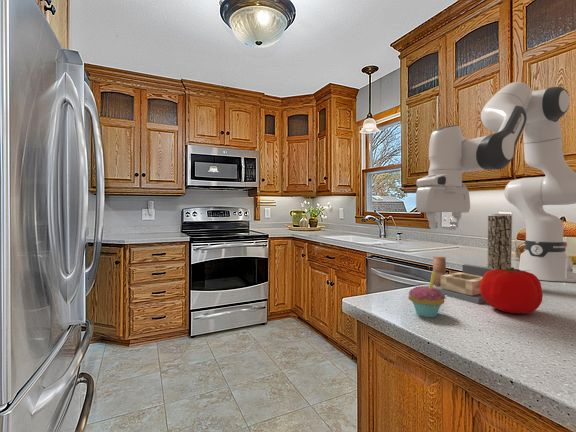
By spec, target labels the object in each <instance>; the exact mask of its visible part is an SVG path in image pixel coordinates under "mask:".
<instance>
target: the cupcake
mask: <svg viewBox="0 0 576 432" xmlns="http://www.w3.org/2000/svg"><path fill="white" fill-rule="evenodd" d="M434 271H435V269H434ZM434 271H433V270H432V271H431V276H430V281H429V286H423V285H421V286H415V287H413V288H411V289H410V290H409V291H408V300H410V301H411V302H412V304H413V306H414V310H415V312H416V314H417V315H418V316H420V317H424V318H435V317H437V316H438V313H439V310H440V307H441V306H442V305H443V304H445V300H446V296H445V295H444V294H442V292H440V291H439V290H437V289H436V288H435V287H434V285H433V280H434V275H435V272H434Z"/></svg>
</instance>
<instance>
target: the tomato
mask: <svg viewBox="0 0 576 432" xmlns="http://www.w3.org/2000/svg"><path fill="white" fill-rule="evenodd" d="M527 271H529V270H527ZM480 292H481V295H482V296H483V298H484V299H485V301H486V302H485V303H487V304H489V305H490V307H491V308H495V309H497V310H498V311H499V310H500V311H502V312H504V313H511V314H530V313H533V312H535V311H537V309H538V308H539V307H540V305H541V304H542V302H543V294H544V293H543V290H542V284H541V280H538V278H537V277H536V276H535V275H534V274H532V273H529V272H526V271H522V270H521V271H520V270H519V268H518V269H517V268H515V267H513V266H511V269H509V268H507V269H494V270H490V271H488V272H486V273H485V274H484V276H483V278H482V280H481V282H480Z"/></svg>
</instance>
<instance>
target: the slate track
mask: <svg viewBox="0 0 576 432" xmlns="http://www.w3.org/2000/svg"><path fill="white" fill-rule="evenodd" d="M490 270H494V268H488V266H487V267H486V266H481V265H472V264H466V263H465V264H462V272H461V273H467V274H472V275H478V276H484V274H485V273H486V272H488V271H490ZM434 288H436V289H437V290H439V291H440V292H442V294H444V296H445V295H447V297H449V296H450V298H453V297H454V298H453V299H457V298H458V300H461V299H462V300H461V301H465V302H469V303H472V304H477V305H479V304H483V303H487V302H486V301H485V299H484V298H483V296H482V295H481V294H477V295H473V296H471V295H467V294H463V293H459V292H455V291H450V290H446V289H442V288H440V287H439V286H435V287H434Z"/></svg>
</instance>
